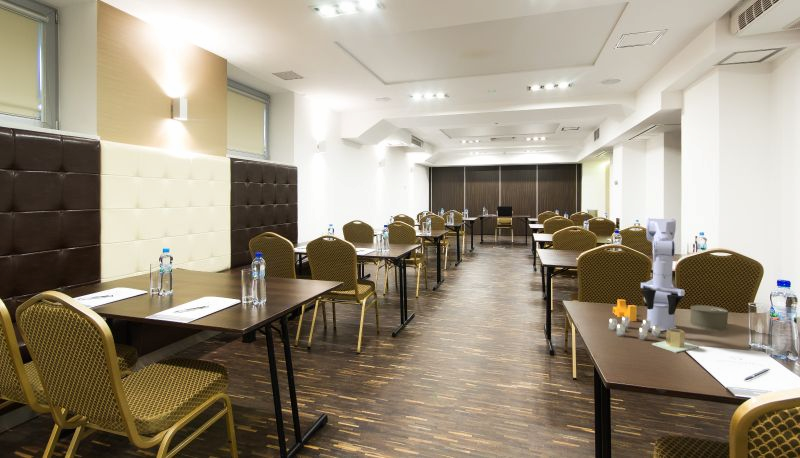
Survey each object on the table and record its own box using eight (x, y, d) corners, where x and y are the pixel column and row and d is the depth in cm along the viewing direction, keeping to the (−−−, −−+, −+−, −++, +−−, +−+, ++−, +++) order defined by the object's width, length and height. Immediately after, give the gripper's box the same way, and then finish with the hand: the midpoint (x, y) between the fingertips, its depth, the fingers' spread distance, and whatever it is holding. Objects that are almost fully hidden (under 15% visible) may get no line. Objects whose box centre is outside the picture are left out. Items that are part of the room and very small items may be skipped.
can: (689, 319, 168) (690, 303, 168) (726, 324, 162) (727, 307, 161) (689, 326, 159) (690, 309, 158) (729, 332, 152) (730, 314, 151)
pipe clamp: (612, 313, 177) (613, 299, 177) (623, 314, 177) (623, 299, 176) (624, 321, 165) (625, 306, 165) (636, 322, 165) (636, 306, 164)
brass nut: (673, 342, 139) (673, 327, 139) (686, 346, 135) (687, 331, 135) (663, 343, 137) (664, 329, 137) (676, 348, 133) (677, 333, 133)
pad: (674, 340, 142) (674, 339, 142) (698, 347, 135) (698, 346, 135) (651, 344, 138) (651, 343, 138) (675, 352, 130) (675, 351, 130)
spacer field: (630, 324, 160) (631, 314, 160) (668, 336, 147) (668, 325, 146) (600, 330, 153) (601, 319, 153) (637, 342, 140) (637, 330, 140)
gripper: (635, 271, 149) (634, 307, 150) (676, 278, 136) (674, 318, 136) (648, 270, 152) (646, 306, 153) (689, 276, 138) (687, 315, 139)
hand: (660, 311), depth 145 cm, fingers open, 7 cm apart
